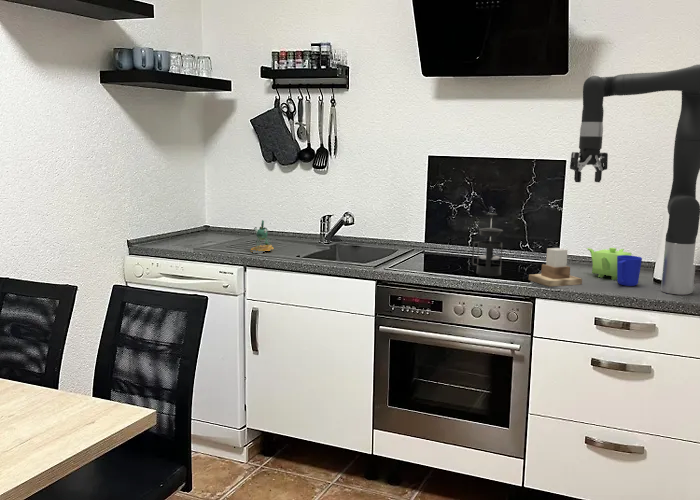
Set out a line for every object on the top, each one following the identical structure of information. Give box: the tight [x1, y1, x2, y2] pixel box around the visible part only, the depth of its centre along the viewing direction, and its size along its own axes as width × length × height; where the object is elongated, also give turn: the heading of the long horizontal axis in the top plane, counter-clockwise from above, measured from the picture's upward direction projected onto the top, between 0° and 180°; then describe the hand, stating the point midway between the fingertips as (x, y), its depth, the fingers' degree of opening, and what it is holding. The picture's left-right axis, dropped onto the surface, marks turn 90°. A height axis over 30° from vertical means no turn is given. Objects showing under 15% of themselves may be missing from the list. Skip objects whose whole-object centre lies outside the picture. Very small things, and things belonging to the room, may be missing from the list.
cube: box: [545, 247, 569, 267], centre depth 249 cm, size 5×5×6 cm
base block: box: [540, 263, 571, 279], centre depth 250 cm, size 7×7×4 cm
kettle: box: [586, 247, 632, 281], centre depth 261 cm, size 15×14×11 cm
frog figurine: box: [250, 220, 274, 251], centre depth 304 cm, size 10×18×15 cm, turn 157°
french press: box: [471, 212, 504, 277], centre depth 263 cm, size 12×9×23 cm
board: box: [528, 273, 583, 288], centre depth 250 cm, size 14×12×2 cm
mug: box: [616, 255, 643, 287], centre depth 246 cm, size 8×12×10 cm
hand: (587, 182), depth 244 cm, fingers open, 8 cm apart
